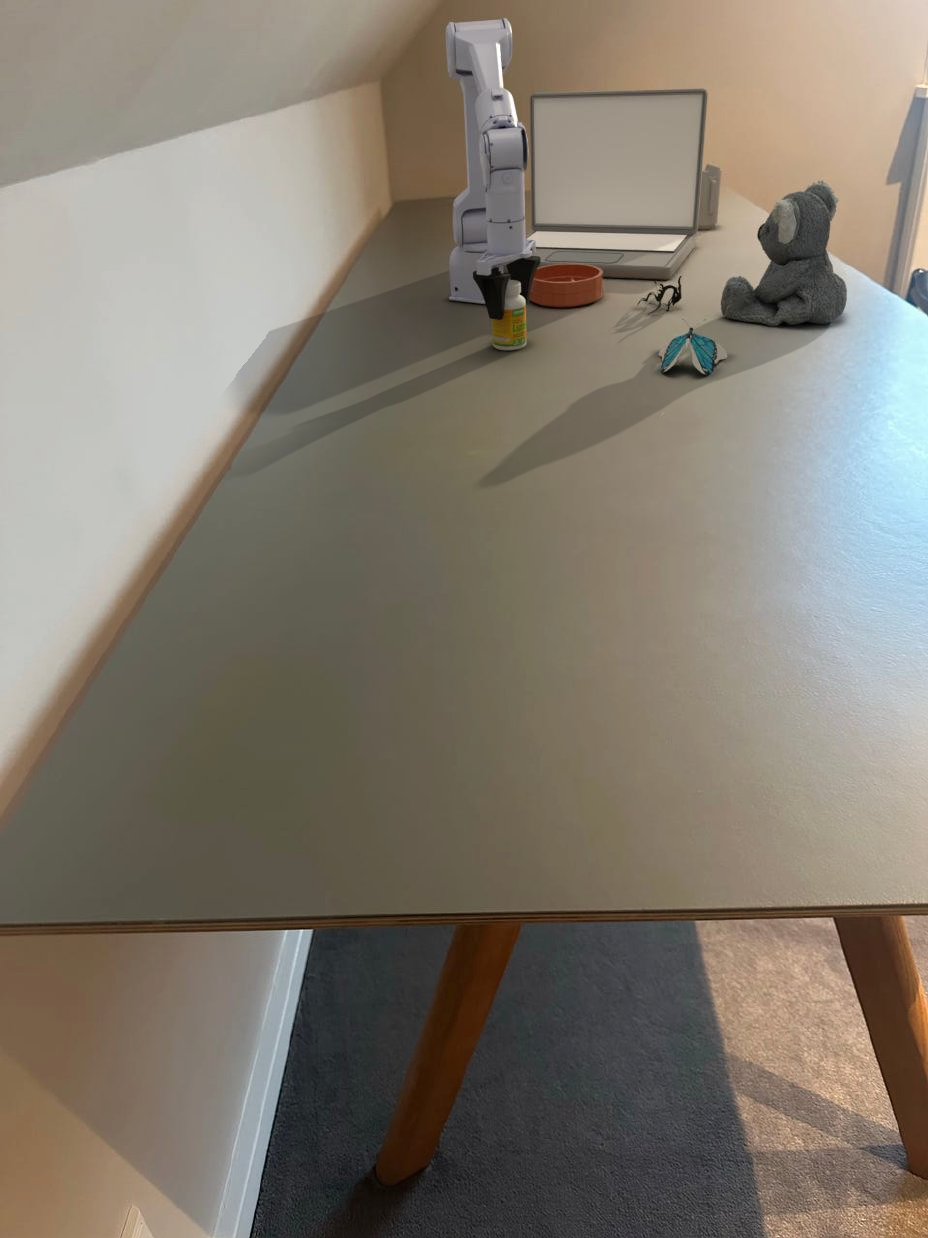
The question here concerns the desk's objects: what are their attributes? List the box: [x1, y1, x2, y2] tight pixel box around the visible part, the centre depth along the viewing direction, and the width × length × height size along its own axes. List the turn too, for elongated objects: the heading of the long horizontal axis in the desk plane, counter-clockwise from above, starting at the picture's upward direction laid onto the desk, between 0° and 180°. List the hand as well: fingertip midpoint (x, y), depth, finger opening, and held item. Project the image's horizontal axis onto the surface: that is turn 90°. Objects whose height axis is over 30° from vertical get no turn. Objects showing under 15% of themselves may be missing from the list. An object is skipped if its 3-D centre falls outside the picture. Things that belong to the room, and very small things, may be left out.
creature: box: [636, 275, 683, 315], centre depth 160 cm, size 8×5×8 cm
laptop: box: [503, 87, 709, 281], centre depth 183 cm, size 36×28×29 cm
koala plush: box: [720, 179, 848, 327], centre depth 149 cm, size 17×18×20 cm
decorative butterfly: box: [658, 318, 728, 376], centre depth 136 cm, size 10×6×10 cm
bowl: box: [528, 263, 604, 308], centre depth 168 cm, size 13×13×4 cm
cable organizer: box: [698, 163, 723, 230], centre depth 208 cm, size 7×12×12 cm, turn 12°
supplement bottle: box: [491, 279, 527, 351], centre depth 147 cm, size 5×5×10 cm
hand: (508, 311), depth 146 cm, fingers open, 7 cm apart
